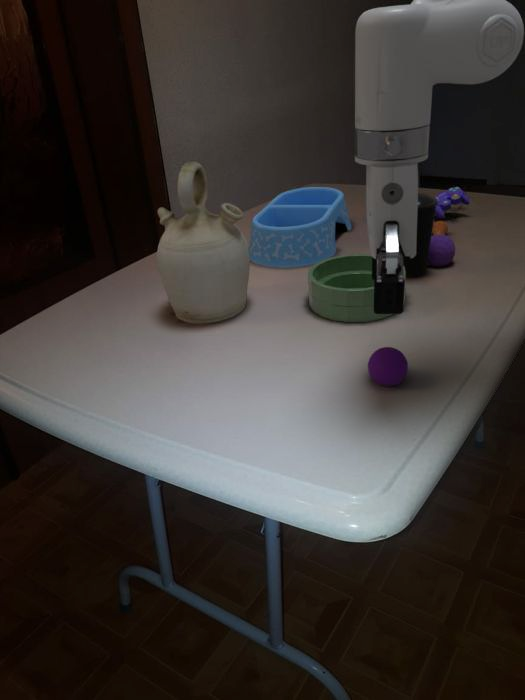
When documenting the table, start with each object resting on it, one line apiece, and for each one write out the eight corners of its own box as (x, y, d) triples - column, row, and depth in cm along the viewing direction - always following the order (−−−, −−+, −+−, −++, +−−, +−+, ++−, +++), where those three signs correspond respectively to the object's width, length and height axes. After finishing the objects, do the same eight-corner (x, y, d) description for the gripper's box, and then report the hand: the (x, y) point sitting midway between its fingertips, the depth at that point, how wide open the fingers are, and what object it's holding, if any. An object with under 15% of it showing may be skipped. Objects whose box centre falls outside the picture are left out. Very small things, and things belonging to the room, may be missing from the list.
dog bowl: (324, 272, 107) (323, 230, 103) (234, 268, 113) (229, 228, 109) (358, 219, 134) (358, 184, 130) (284, 218, 141) (281, 184, 136)
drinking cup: (406, 286, 98) (410, 170, 88) (382, 272, 104) (383, 162, 94) (442, 276, 100) (450, 162, 90) (416, 264, 106) (421, 155, 96)
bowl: (400, 284, 99) (401, 252, 96) (407, 324, 86) (409, 289, 83) (313, 286, 102) (311, 255, 99) (306, 326, 88) (304, 291, 85)
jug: (271, 298, 99) (257, 152, 86) (220, 337, 88) (196, 175, 75) (203, 287, 106) (182, 150, 94) (148, 321, 95) (116, 172, 83)
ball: (405, 372, 74) (407, 339, 72) (408, 393, 70) (410, 359, 67) (367, 372, 75) (367, 340, 73) (368, 393, 71) (368, 359, 68)
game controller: (444, 210, 121) (416, 193, 128) (446, 240, 127) (419, 221, 134) (481, 189, 122) (452, 173, 129) (482, 219, 128) (453, 202, 135)
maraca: (457, 217, 116) (459, 242, 99) (450, 245, 119) (450, 274, 101) (428, 212, 117) (425, 236, 100) (421, 239, 120) (417, 267, 103)
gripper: (439, 159, 50) (426, 328, 58) (420, 129, 65) (412, 267, 73) (354, 163, 51) (353, 328, 60) (355, 133, 66) (354, 269, 74)
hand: (386, 295), depth 66 cm, fingers open, 9 cm apart
